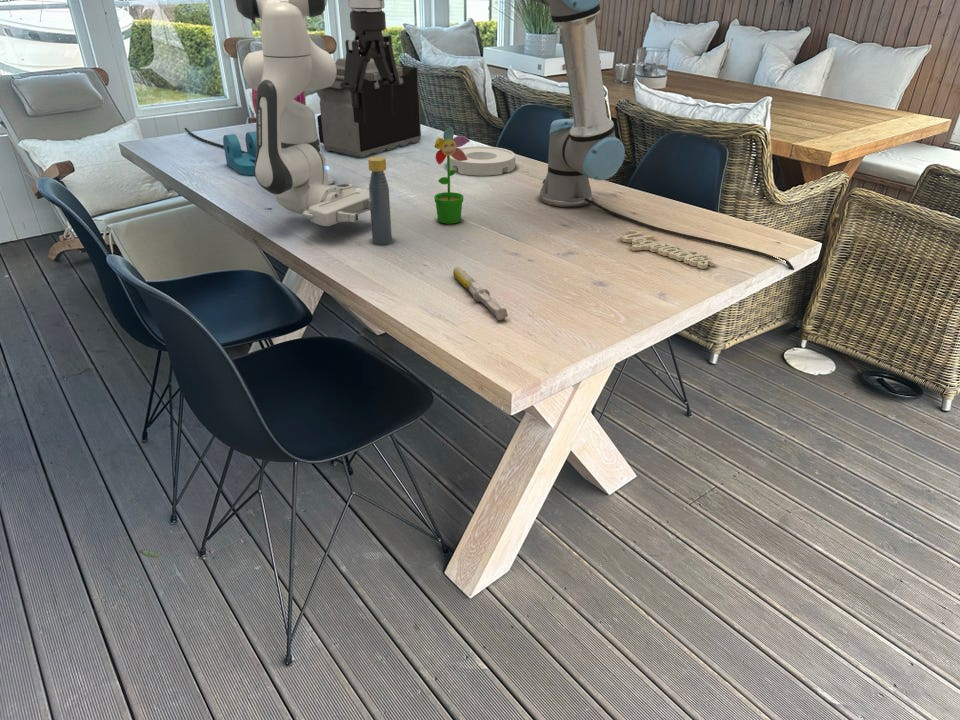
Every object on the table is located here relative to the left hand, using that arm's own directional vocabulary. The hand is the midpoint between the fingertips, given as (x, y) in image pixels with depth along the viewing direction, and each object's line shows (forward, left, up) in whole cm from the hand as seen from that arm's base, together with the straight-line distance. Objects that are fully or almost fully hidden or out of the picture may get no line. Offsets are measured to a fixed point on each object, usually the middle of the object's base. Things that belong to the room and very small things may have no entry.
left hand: (368, 212), depth 171 cm
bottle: (+3, +2, -7) cm, 8 cm away
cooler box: (-89, +42, -7) cm, 99 cm away
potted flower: (-1, +24, -7) cm, 25 cm away
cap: (+3, +2, +13) cm, 14 cm away
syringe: (+43, +5, -7) cm, 44 cm away
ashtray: (-44, +62, -7) cm, 76 cm away
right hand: (+3, +2, +23) cm, 23 cm away
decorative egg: (-115, +17, -7) cm, 116 cm away
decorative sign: (+45, +57, -7) cm, 73 cm away
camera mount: (-80, -6, -7) cm, 81 cm away
